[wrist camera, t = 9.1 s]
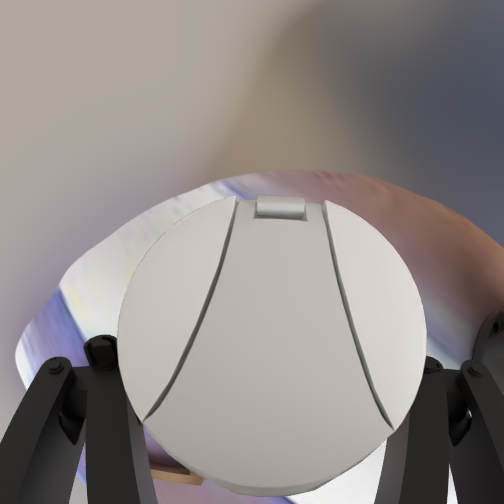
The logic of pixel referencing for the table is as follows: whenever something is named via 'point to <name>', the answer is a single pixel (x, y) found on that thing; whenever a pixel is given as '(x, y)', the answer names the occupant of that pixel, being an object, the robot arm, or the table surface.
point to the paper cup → (271, 343)
